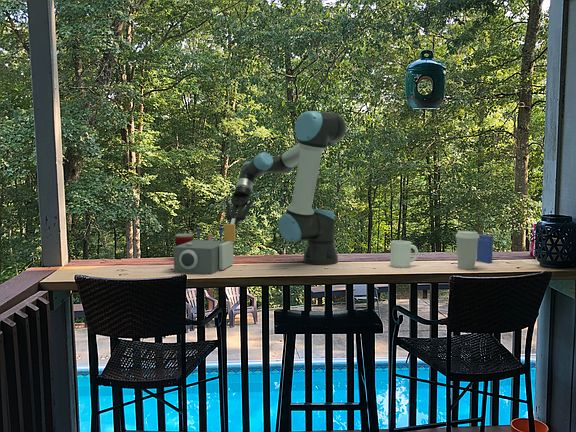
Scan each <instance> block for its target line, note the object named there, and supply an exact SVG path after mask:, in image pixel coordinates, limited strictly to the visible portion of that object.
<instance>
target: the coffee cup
mask: <svg viewBox="0 0 576 432" xmlns="http://www.w3.org/2000/svg"><path fill="white" fill-rule="evenodd" d="M478 234H479V232H477V231H473V230H458V231H457V232H456V234H455V239H456V256H457V258H456V259H457V268H458V269H461V270H474V269H475V268H476V267H475V266H476V261H475V259H476V252H477V244H478V238H479V235H480V234H479V235H478Z"/></svg>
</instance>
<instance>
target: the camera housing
mask: <svg viewBox="0 0 576 432" xmlns="http://www.w3.org/2000/svg"><path fill="white" fill-rule="evenodd" d="M225 242H227V241H224V240H206V239H202V240H201V239H193V240H192V241H190V242H187V243H184V244H181V245H178V246H173V272H174V273H181V274H182V273H184V274H185V273H186V274H202V275H213V274H215V273H216V272H219V271H220V270H219V245H220V244H223V243H225Z"/></svg>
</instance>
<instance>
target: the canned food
mask: <svg viewBox="0 0 576 432" xmlns="http://www.w3.org/2000/svg"><path fill="white" fill-rule="evenodd" d="M192 240H194V234H193V233H176V234H175V237H174V242H175V243H174V245H175V246H178V245H181V244H184V243H187V242H190V241H192ZM175 246H174V247H175Z"/></svg>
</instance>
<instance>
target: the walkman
mask: <svg viewBox="0 0 576 432" xmlns="http://www.w3.org/2000/svg"><path fill="white" fill-rule="evenodd" d="M478 235H479V238H478V244H477V252H476V259H475V262H479V263H485V264H492V263H493V249H494V247H493V246H494V236H493V235H491V234H479V233H478Z"/></svg>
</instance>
